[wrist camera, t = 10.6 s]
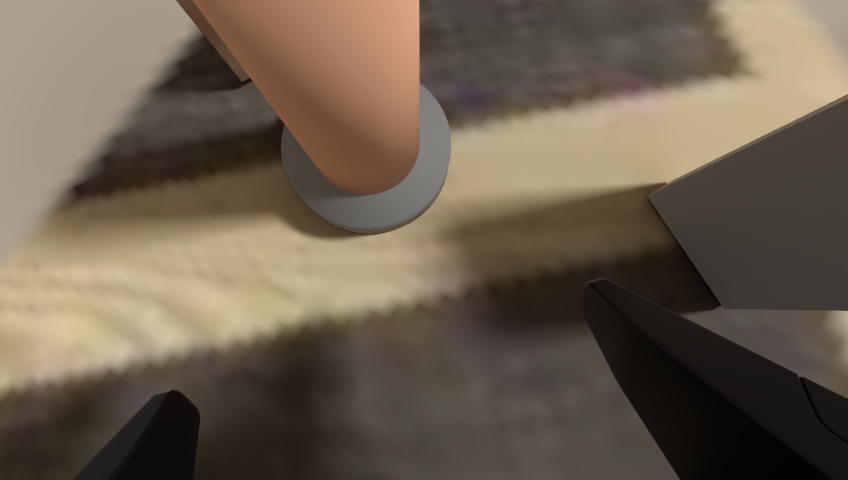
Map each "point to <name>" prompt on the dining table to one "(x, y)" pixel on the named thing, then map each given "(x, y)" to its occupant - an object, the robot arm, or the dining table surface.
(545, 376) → the dining table surface
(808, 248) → the door frame
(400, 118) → the door stop
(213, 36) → the door
